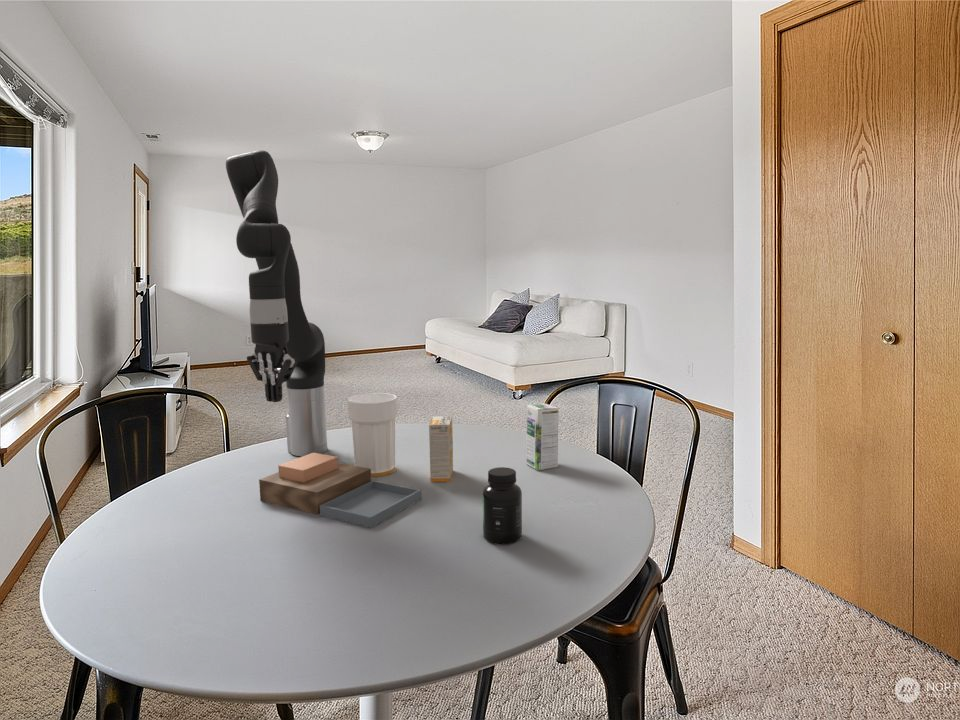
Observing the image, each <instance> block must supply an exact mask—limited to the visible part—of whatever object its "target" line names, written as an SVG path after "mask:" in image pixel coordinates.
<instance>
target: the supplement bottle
mask: <svg viewBox="0 0 960 720" xmlns="http://www.w3.org/2000/svg"><path fill="white" fill-rule="evenodd" d="M487 483H488V484H487V485H486V486H484V488H483V490H482V531H483V533H482V535H483V537H484V540H486V541H487V542H488V543H491V544H495V545H511V544H514V543H517V542H518V541H520V539H521V538H522V536H523V492H522V489H521V487H520V486H519V485H518V484H516V483H517V472H516V470H515V469H514V468H511V467H502V466H501V467H500V466H499V467H493V468H490V469H489V470H488V473H487Z"/></svg>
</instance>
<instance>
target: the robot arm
mask: <svg viewBox="0 0 960 720" xmlns="http://www.w3.org/2000/svg"><path fill="white" fill-rule="evenodd" d="M225 169H226V173H227V177H228V180H229V183H230V186H231V188H232V191H233V193H234V196H235V200H236V201H237V204H238V207H239V210H240V213H241V216H242V217H243V218H242V219H243V220H242V222H241V223H240V225H239V227H238V229H237V233H236V237H235V238H236V239H235V240H236V247H237V250H238V252H239V253H240V254H241V255H242V256H243V257H245V258H248V259H255V261H256V262H255V263H256V265H257V268H258V269H257V270H253V271H251V272H249V275H248V291H249V321H250V322H249V323H250V337H251V343H252V344H254V345H255V347H254V350H253V351H254V353H253V354H251V355H248V356H246V361H247V363H248V365H249V366H250V368H251V370H252V372H253V375H254V376H255V378H256V380H257V381H261V382H262V384H263V385H264V392H265V395H264V396H265V398H266V402H270V403H271V402H272V403H278V402H279V403H280V402H282V399H283V383H286V384H285V385H286V395H287V397H286V399H287V415H286V416H285V429H286V445H287V452H288V453H290V454H291V455H293V456H297V457H302V456H305V455H308V454H311V453H318V454H324V453H325V452H327V451H328V433H327V417H326V416H327V415H326V395H325V374H326V345H325V344H326V343H325V337H324V333H323V331H322V330H321V329H320V327H319V325H317V324H315V323H313V322H309V320H308V318H307V315H306V313H305V310H304V307H303V302H302V298H301V280H300V279H301V278H300V277H301V276H300V269H299V265H298V260H297V258H296V257H297V256H296V254H295V250H294V248H293V244H292V242H291V241H292V240H291V239H292V238H291V236H292V235H291V233H290V231H289V228H287V227H286V226H285V225H284V224H282V223H279V217H278V216H279V215H278V211H277V198H278V190H279V189H278V188H279V175H278V170H277V167H276V164H275V161H274V159H273V157H272V155H271V154H270V153H269V151H266V150H254V151H248V152H246V153H245V152H244V153H241V154H236V155H232V156H229V157H227V158H226V160H225Z"/></svg>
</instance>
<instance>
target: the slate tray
mask: <svg viewBox="0 0 960 720" xmlns="http://www.w3.org/2000/svg"><path fill="white" fill-rule="evenodd" d="M421 500H422V490H421V489H419V488H413V487H407V486H403V485H397V484H393V483H388V482H385V481H384V482H382V481H378V480H373V479H372V480H371V481H370V482H368V483H366V484H364V485H362V486H360V487H358V488H356V489H354V490H351V491H349V492H347V493H345V494H343V495H341V496H339V497H337V498H334V499H332V500H330V501H328V502H326V503H324V504H322V505H320V514H319V515H320V517H321V516H322V517H326V518H330V519H334V520H337V521H341V522H345V523H350V524H354V525H358V526H362V527H366V528H370V529H371V528H374V527H376V526H377V525H379V524H381V523H382V522H384V521H386V520H388V519H389V518H391V517H393V516H394V515H396V514H398V513H400V512H401V511H403V510H405V509H407V508H409V507H411V506H413V504H416V503H417V502H419V501H421Z"/></svg>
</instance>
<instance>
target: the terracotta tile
mask: <svg viewBox="0 0 960 720" xmlns="http://www.w3.org/2000/svg"><path fill="white" fill-rule="evenodd" d="M338 463H339V461H338V456H334V455H329V454H324V453H321V454H318V453H311V454H308V455H305V456H299V457H297V458H295V459H291V460H290V461H287V462H286V461H285V462H284V463H281V464H279V465H277V466H278V469H277V470H278V472H279V477H281V478H286V479H290V480H295V481H299V482H306V481H308V480H311V479H313V478H316V477H318V476H320V475H323V474H325V473H328V472H330V471H333V470H335V469H337V468H338Z"/></svg>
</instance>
